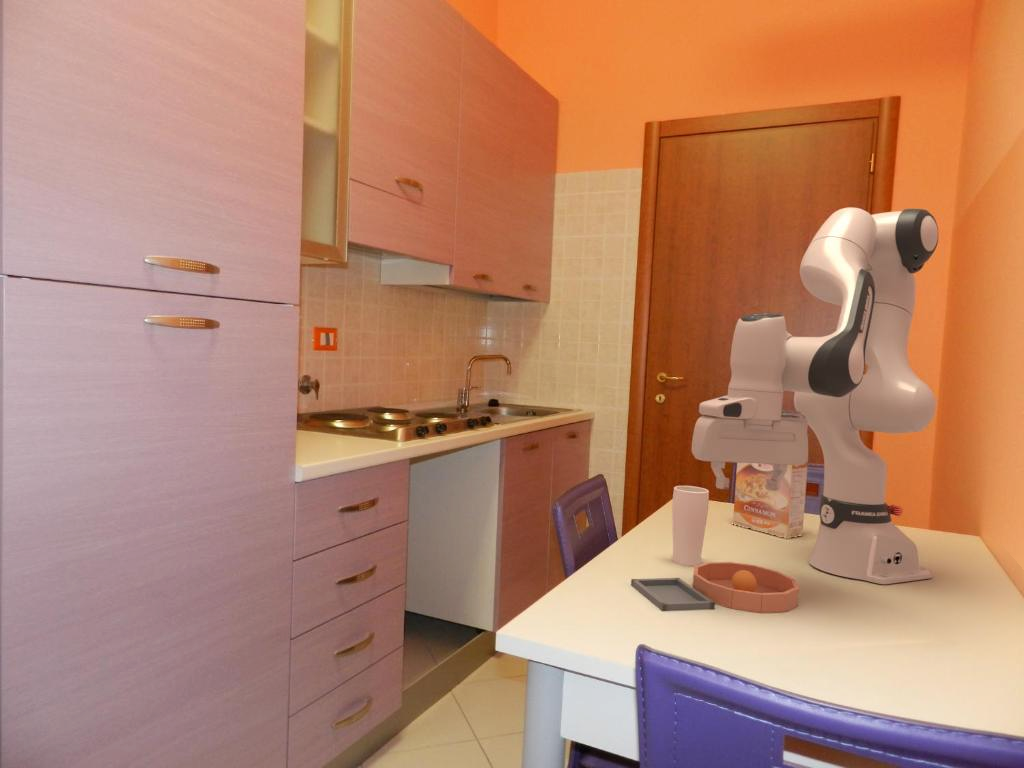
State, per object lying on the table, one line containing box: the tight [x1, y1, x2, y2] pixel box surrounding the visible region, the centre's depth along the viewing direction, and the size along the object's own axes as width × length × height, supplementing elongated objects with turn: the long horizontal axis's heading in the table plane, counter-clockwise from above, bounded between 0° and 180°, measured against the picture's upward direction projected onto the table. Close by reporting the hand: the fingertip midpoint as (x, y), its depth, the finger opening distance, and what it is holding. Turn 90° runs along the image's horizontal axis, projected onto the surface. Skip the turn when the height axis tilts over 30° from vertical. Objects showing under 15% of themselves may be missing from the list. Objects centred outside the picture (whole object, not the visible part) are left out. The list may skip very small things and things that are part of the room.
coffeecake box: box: [732, 459, 809, 539], centre depth 165 cm, size 15×7×20 cm, turn 36°
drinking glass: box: [671, 485, 710, 567], centre depth 132 cm, size 7×7×15 cm
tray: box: [630, 577, 716, 612], centre depth 112 cm, size 9×12×2 cm
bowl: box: [692, 561, 800, 614], centre depth 115 cm, size 17×17×4 cm
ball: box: [732, 570, 757, 592], centre depth 115 cm, size 4×4×4 cm
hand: (747, 489), depth 115 cm, fingers open, 8 cm apart
